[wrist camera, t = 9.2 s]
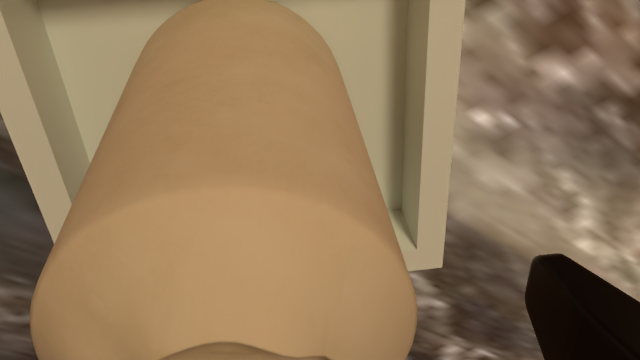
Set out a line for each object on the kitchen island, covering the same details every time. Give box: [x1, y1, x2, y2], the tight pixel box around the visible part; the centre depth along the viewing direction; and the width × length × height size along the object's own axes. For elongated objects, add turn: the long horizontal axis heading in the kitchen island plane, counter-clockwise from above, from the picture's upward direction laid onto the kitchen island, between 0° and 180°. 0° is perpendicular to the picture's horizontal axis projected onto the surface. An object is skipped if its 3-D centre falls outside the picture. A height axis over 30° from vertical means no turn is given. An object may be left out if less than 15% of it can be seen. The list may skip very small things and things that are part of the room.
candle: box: [29, 0, 417, 360], centre depth 11 cm, size 6×6×10 cm
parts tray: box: [0, 0, 465, 271], centre depth 15 cm, size 11×11×2 cm
